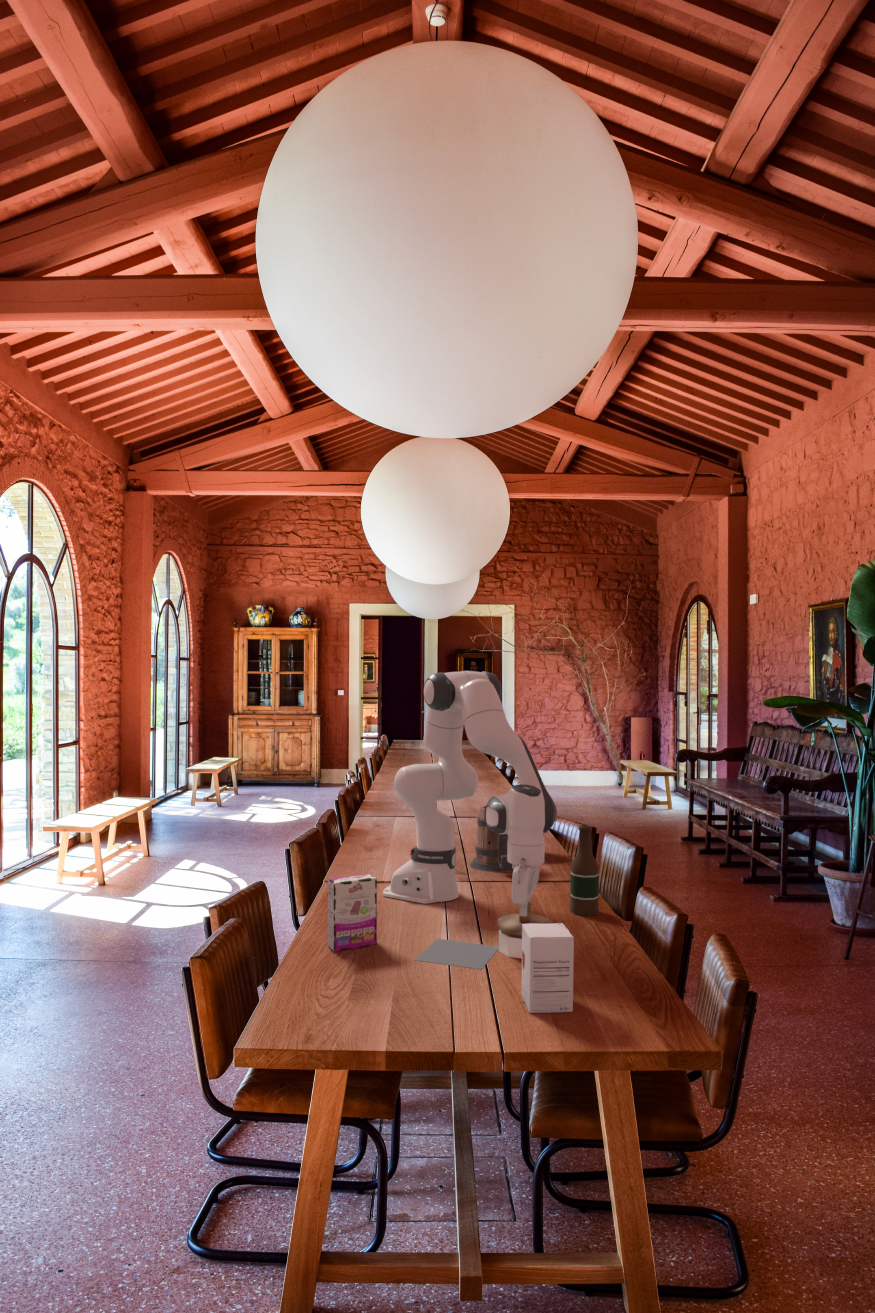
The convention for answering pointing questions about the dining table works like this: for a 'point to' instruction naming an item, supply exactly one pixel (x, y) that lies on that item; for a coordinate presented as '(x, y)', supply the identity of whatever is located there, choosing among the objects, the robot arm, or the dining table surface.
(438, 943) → the mat
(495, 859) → the tankard
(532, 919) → the lid
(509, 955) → the bowl
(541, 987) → the supplement box
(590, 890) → the beer bottle
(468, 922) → the dining table surface
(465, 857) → the dining table surface
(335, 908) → the candy bar box
